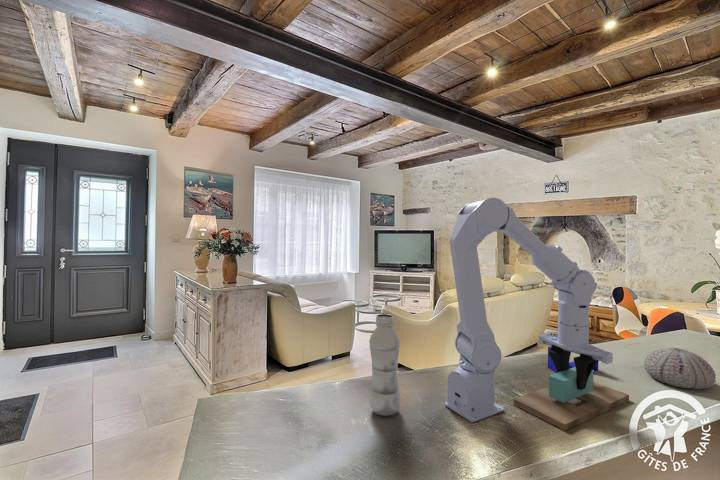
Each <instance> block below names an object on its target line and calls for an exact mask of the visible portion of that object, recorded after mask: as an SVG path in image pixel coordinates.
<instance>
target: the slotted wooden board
mask: <svg viewBox="0 0 720 480" xmlns="http://www.w3.org/2000/svg"><path fill="white" fill-rule="evenodd" d="M576 399H579V400H581V401H584V402H586V403H583V404H581V405H575V404H573V403H571V402H570V401H567V402H565V403H563V402H561V401H559V400H556V399H554V398H552V397H549V386H547V387H543V388H540V389H538V390H535V391H533V392H530V393H527V394H524V395H521V396H518V397H516V398H513V406H516V407H518V408H520V409H522V410H523V411H525V412H527V413H529V414H531V415H533V416H535V417H537V418H540V419H541V420H543V421H545V422H547V423H549V424H551V425H552V426H555V427H557V428H558V429H561V430H563V431H567V430H570V429H572V428H574V427H576V426H578V425H581V424H583V423H585V422H586V421H588V420H590V419H592V418H595V417H596V416H599V415H601V414H603V413H605V412H607V411H610V410H611V409H614V408H616V407H618V406H619V405H621V404H624V403H626V402H629V401H630V394H627V393H624V392H623V391H619V390H616V389H613V388H611V387H609V386H605V385H603V384H599V383H597V382H594V381H593V391H592V392H589V393H587V394H584V395H582V396H579V397H577V398H576Z"/></svg>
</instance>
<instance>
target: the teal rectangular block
mask: <svg viewBox="0 0 720 480" xmlns="http://www.w3.org/2000/svg"><path fill="white" fill-rule="evenodd" d="M594 372H595V371H593V370H592V372H591V373H590V376H589V378H588V381H587V384H586V388H585V389H583V390H578V389H577V384H576V379H577V374H576V367H573V368H570V369H567V370H564V371H561V372H558V373H555V372H554V373H552V374H550V375H549V377H548V381H549V382H548V387H549V397H552V398H554V399H556V400H559V401H561V402H563V403H565V402H570V401H572V400H575V399H578V398H577V397H579V396H582V395H584V394H587V393H589V392H592V391H593V382H594Z"/></svg>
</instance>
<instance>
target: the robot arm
mask: <svg viewBox="0 0 720 480" xmlns="http://www.w3.org/2000/svg"><path fill="white" fill-rule="evenodd" d="M494 232H496V233H503V234H505V235H506V236H507V237H508V238H510V239H511V240H512V241H514V242H515V243H516V244H517V245H518V246H520V247H521V248H522V249H523V250H525V252H527V253H528V254H530V255H531V263H532V265H534V266H535V267H536V268H537V269H538V270H539V271H540V272H542V273H543V275H545V276H546V277H547V278H548V279H549V280H551V284H552V287H553V288H554V289H555V290H557V291H558V292H557V293H558V294H557V295H558V296H557V297H558V298H557V299H558V300H557V301H558V302H557V303H558V305H557V309H558V310H557V336H554V335H549V334H545V333H544V334H539V335H538V344H539V345H547V346H552V348H551V349H550V350H548V349H547V355H548V354H549V355H550V357H551V359H552V360H553V363H554V365H555V367H556V370H557V373H558V372H561V371H564V370H567V369H569V362H570V360H571V359H570V358H571V354H572V353H573V354H575V355H578V356H575V357H573V362H574V363H575V367H576V374H577V379H576V384H577V389H578V390H583V389H585V388H586V384H587V381H588V378H589V376H590V373H591V372H592V370H593V368H594V367H595V365H596V364H597V362H598V363H599V361H600V362H601V363H602V364H605V365H609V364H612V363H613V356H614V355H613V354H614V353H613V352H611V351H606V350H604V349H601V348H599V347H596V346H594V345H591V344H589V343H590V341H589V340H590V305H591V303H592V297H593V294H594V293H595V292H596V291H597V287H598V283H597V282H596V281H595V278H594V277H593V275H592V273H591V272H589V271H588V270H585V269H582V268H581V269H580V268H579V266H578V263H577V262H576V261H574V260H571V259H570V258H569V257H568V256H567V255H565V253H563V252H562V251H563V248H562V247H561V246H560V245H554V244H552V243H551V244H549V243H548V244H545V243H544V242H543V241H542V240H541V239H540V238H539V237H538V236H537V235H536V234H535V233H534V232H533V231H532V230H531V229H530V227H528V226H527V225H526V224H525V223H524V222H523V221H522V220H521V219H520V218H519V216H517V215H516V212H515V210H514V209H513V208H511V206H509V205H507V204H506V202H504V201H503V200H502V199H500V198H498V197H488V198H485V199H483V200H476V201H474V200H473V201H469V202H467V203H466V204H465V205H464V206H463V207H461V209H459V211H458V212H457V213H456V222H455V224H454V227H453V229H452V232H451V234H450V237H449V246H450V249H449V250H450V256H451V261H452V262H451V263H452V269H453V277H454V283H455V289H456V290H455V291H456V297H457V298H456V299H457V305H458V312H459V318H460V319H459V320H460V321H459V322H458V324H456V330H457V333H456V338H455V341H454V346H455V348H456V351H457V352H458V354H459V361H458V366H457V367H456V368H455V369H454V370H451V371H450V372H449V374H448V376H447V397H446V398H447V401H445V402H444V405H445V406H446V407H447V408H449V409H450V410H452V411H454V412H455V413H457V414H458V415H460V416H461V417H463V418H464V419H466V420H468V421H469V422H471V423H475V422H477V421H480V420H483V419H486V418H488V417H491V416H494V415H495V414H498V413H501V412H504V411H505V407H503V406H501V405H499V404H497V403H496V401H495V400H496V399H495V398H496V393H495V392H496V391H495V390H496V389H495V387H496V369H497V368H498V367H499V366H500V364H501V361H502V355H503V354H502V351H501V349H500V347H499V345H498V344H497V342H496V339H495V333H494V332H493V330H492V328H491V326H490V324H489V323H488V319H487V311H486V304H485V295H484V291H483V283H482V276H481V268H480V260H479V253H478V246H479V245H480V244H481V243H482V242H483V241H484V239H485V238H486V237H487V236H488V235H490V234H492V233H494Z"/></svg>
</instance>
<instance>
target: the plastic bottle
mask: <svg viewBox="0 0 720 480" xmlns="http://www.w3.org/2000/svg"><path fill="white" fill-rule="evenodd" d="M394 325H395V323H394V315H393V314H389V313H380V314H376V315H375V326H376V328H375V329H374V331H372V334H371V335H370V336H369V349H370V350H369V351H370V357H371V372H372V373H371V385H370V390H369V405H370V408H371V410H372V412H373V413H375V414H376V415H378V416H382V417H389V416H393V415H395V414H396V413H398V411H399V409H400V407H401V394H400V389H399V379H398V368H399V367H398V366H399V363H398V362H399V355H400V348H401V347H400V345H401V341H400V337H399V335H398V333H397V332H396V330H395V329H394V327H393V326H394Z"/></svg>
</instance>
